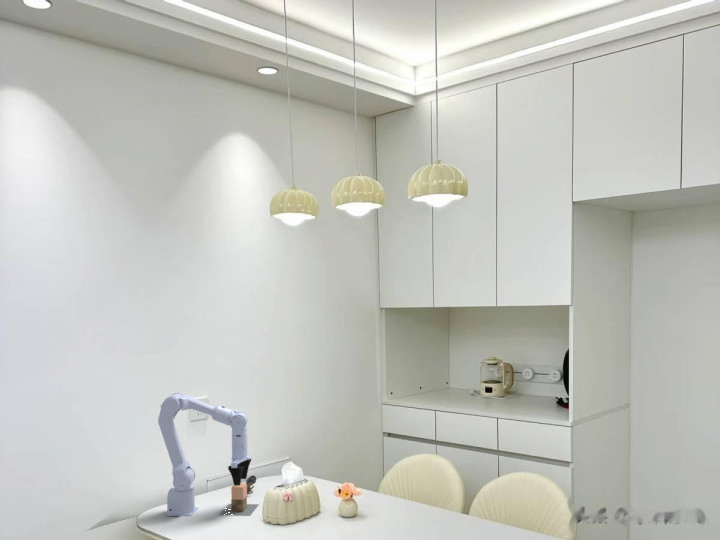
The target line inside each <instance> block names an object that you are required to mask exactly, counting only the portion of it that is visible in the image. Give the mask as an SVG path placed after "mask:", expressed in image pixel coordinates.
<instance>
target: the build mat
mask: <svg viewBox="0 0 720 540" xmlns="http://www.w3.org/2000/svg"><path fill="white" fill-rule="evenodd" d="M259 505H260V504H258V503H257V504H255V503H247V508H246V509H245V510H244V512H231V510H228V509H231V503H228V504H227V505H226V506H225V508H227V509H225V508H224V509H223V510H222V511H220V513H219V514H218V516H221V515H222V516H223V515H224V514H225V515H227V517H228V515H231V514H233V515H234V517H235V516H236V517H238V516H239V517H251V515H252V514H253V513H254V512H255V511H256V510H257V508H258V507H259ZM225 510H226V511H225ZM228 512H230V513H228ZM226 513H227V514H226ZM233 515H231V516H233ZM231 516H230V517H231Z"/></svg>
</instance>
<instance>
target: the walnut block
mask: <svg viewBox="0 0 720 540" xmlns="http://www.w3.org/2000/svg"><path fill="white" fill-rule="evenodd" d="M247 497H248V495H247V496H246V497H245V498H244V499H243V500H235V499H232V498H231V499H230V501H231V503H230V504H231V512H244V510H245V509H246V508H247V504H248V501H247V500H248V499H247Z"/></svg>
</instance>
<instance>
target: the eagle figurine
mask: <svg viewBox="0 0 720 540" xmlns="http://www.w3.org/2000/svg"><path fill="white" fill-rule="evenodd" d="M245 480H246V481H245V484H247V496H248V495H249V492H250V493H252V494H253V493H254V491H253V489H254V488H255V485H254V484H256V483H257V477H256V475H251V476H249V477H248V478H246V479H245Z"/></svg>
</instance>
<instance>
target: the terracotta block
mask: <svg viewBox="0 0 720 540" xmlns="http://www.w3.org/2000/svg"><path fill="white" fill-rule="evenodd" d="M230 489H231V499H235V500H243V499H244V498H245V497H246V496H247V497H248V495H247V484H246V483H240V485H239V486H238V485H234V484H233V485H232V486H231V487H230Z"/></svg>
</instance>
